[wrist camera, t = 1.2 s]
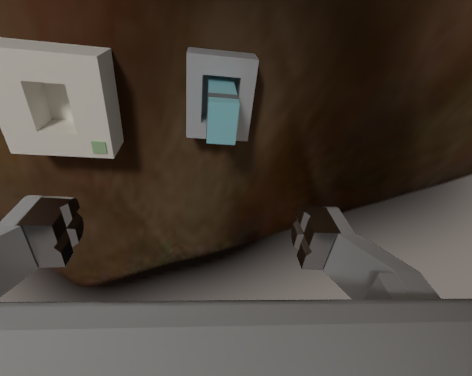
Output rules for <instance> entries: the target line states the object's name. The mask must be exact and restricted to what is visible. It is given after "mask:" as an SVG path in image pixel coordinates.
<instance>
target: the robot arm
mask: <svg viewBox="0 0 472 376" xmlns="http://www.w3.org/2000/svg"><path fill="white" fill-rule="evenodd" d="M79 208H80V207H79V203H78V200H77V199H76V198H72V197H55V196H34V195H29V196H25V197H24V198H23V199H22V200H21V201H20V202H19V203H18V204H17V205H16V206H15V207H14V208H13V209H12V210H11V211H10V212H9V213H8V214H7V215H6V216H5V217H4V218H3V219H2V220H1V221H0V297H1V296H2V295H4V294H5V293H6V292H8V291H9V290H11V289H12V288H13V287H15V286H16V285H17V284H19V283H20V282H21V281H22V280H24V279H25V278H26V277H27V276H29V275H30V274H32V273H33V272H34V271H35V270H37V269H38V267H66V265H67V263H68V262H69V260H70V258H71V256H72V254H73V253H74V252H73V248H72V247H73V246H75V245H76V244H78V243H79V241H80V240H81V238H82V234H83V230H84V224H83V219H82V217H81V216H80V215H79V214H78V213H77V211H78V209H79ZM296 216H297V219H298V220H297V221H296V222H294V223H293V227H292V234H291V235H292V236H291V237H292V243H293V246H294V247H295V248H296V249H297V250H298V253H297V257H298V260H299V263H300V265H301V268H302V269H319V270H323V271H324V272H325V273H326V274H327V275H328V276H329V277H330V278H331V279H332V280H333V281H334V282H335V283H336V284H337V285H338V286H339V287H340V288H341V289H342V290H343V291H344V292H345V293H346V294H347V295H348V296H349V297H350V298H352V300H215V301H86V302H85V301H82V302H0V376H472V299H441V298H440V297H439V296H438V294H437V293H436V292H435V291H434V289H433V288H432V287H431V286H430V284H429V283H428V282H427V280H426V279H425V278H424V277H423V276H422V274H421V273H420V272H419V271H417V270H416V269H414V268H413V267H411V266H409V265H408V264H406V263H404V262H403V261H401V260H400V259H398V258H396V257H395V256H393V255H392V254H390V253H389V252H387V251H385V250H384V249H382V248H381V247H379V246H377V245H376V244H374V243H372V242H371V241H369V240H368V239H366V238H365V237H363V236H361V235H359V234H355V232H354V231H353V230H352V228H351V226H350V225H349V223H348V222H347V220H346V219H345V217H344V216H343V214H342V212H341V211H340V209H339V208H337V207H303V206H299V208H298V209H297V212H296Z"/></svg>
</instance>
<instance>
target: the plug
mask: <svg viewBox="0 0 472 376" xmlns="http://www.w3.org/2000/svg"><path fill="white" fill-rule="evenodd" d="M239 107H240V102H239V96H238V95H237V92H236V88H235V84H234V81H233V77H224V76H213V75H209V76H208V97H207V125H206V143H208V144H225V145H235V142H236V133H237V124H238V116H239Z"/></svg>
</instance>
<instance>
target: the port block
mask: <svg viewBox="0 0 472 376" xmlns="http://www.w3.org/2000/svg"><path fill="white" fill-rule="evenodd" d="M0 128H1V130H2V133H3V135H4V137H5V140H6V142H7V145H8V147H9V150H10V152H11V153H12V154H31V155H51V156H70V157H90V158H110V159H114V158H115V156H116V154H117V153H118V151H119V149H120V147H121V145H122V144H123V142H124V139H123V132H122V125H121V118H120V110H119V103H118V96H117V89H116V81H115V74H114V67H113V60H112V53H111V48H103V47H93V46H83V45H73V44H63V43H53V42H43V41H33V40H23V39H13V38H3V37H0Z"/></svg>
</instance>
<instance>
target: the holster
mask: <svg viewBox="0 0 472 376" xmlns="http://www.w3.org/2000/svg"><path fill="white" fill-rule="evenodd" d="M258 64H259V59H258V58H257V56H256V55H255V54H253V53H243V52H234V51H224V50H214V49H205V48H195V47H188V50H187V83H186V138H202V139H206V125H207V97H208V76H209V75H213V76H224V77H233V81H234V84H235V88H236V92H237V95H238V96H239V102H240V107H239V116H238V124H237V133H236V141H248V134H249V127H250V120H251V113H252V106H253V99H254V92H255V85H256V78H257V71H258Z"/></svg>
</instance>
